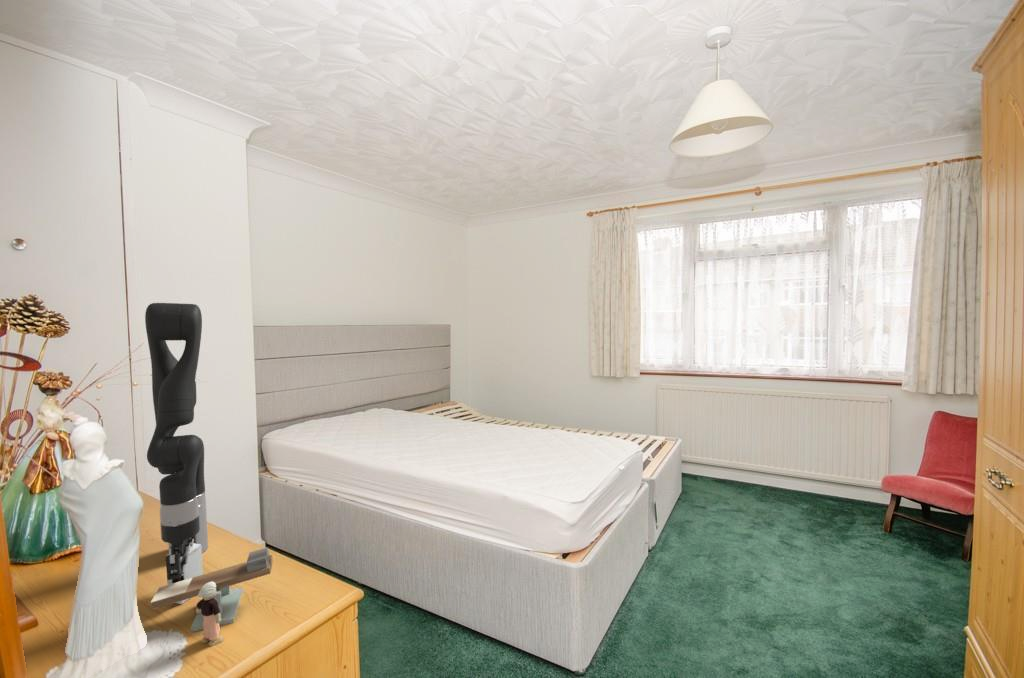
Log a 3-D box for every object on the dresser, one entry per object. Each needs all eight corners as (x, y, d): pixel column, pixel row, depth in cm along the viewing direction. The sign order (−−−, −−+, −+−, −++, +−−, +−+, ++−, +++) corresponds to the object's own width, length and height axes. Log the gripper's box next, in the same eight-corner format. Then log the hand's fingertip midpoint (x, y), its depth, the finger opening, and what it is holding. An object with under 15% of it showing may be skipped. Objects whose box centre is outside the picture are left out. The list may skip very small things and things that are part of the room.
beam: (163, 596, 104) (158, 575, 103) (274, 563, 112) (270, 544, 112) (151, 617, 97) (146, 595, 96) (271, 580, 105) (267, 560, 105)
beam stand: (205, 598, 109) (203, 571, 108) (242, 590, 112) (241, 564, 111) (191, 632, 98) (189, 601, 97) (233, 622, 101) (232, 593, 100)
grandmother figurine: (233, 635, 97) (230, 580, 96) (218, 649, 93) (215, 591, 92) (204, 629, 99) (201, 575, 98) (188, 642, 95) (185, 585, 94)
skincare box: (182, 605, 107) (179, 557, 106) (167, 602, 108) (164, 554, 107) (204, 589, 113) (202, 543, 112) (190, 586, 113) (188, 541, 112)
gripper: (171, 506, 113) (175, 567, 115) (149, 534, 100) (154, 603, 102) (206, 501, 116) (209, 561, 118) (189, 528, 103) (193, 595, 104)
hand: (184, 580), depth 110 cm, fingers closed on skincare box, 7 cm apart
